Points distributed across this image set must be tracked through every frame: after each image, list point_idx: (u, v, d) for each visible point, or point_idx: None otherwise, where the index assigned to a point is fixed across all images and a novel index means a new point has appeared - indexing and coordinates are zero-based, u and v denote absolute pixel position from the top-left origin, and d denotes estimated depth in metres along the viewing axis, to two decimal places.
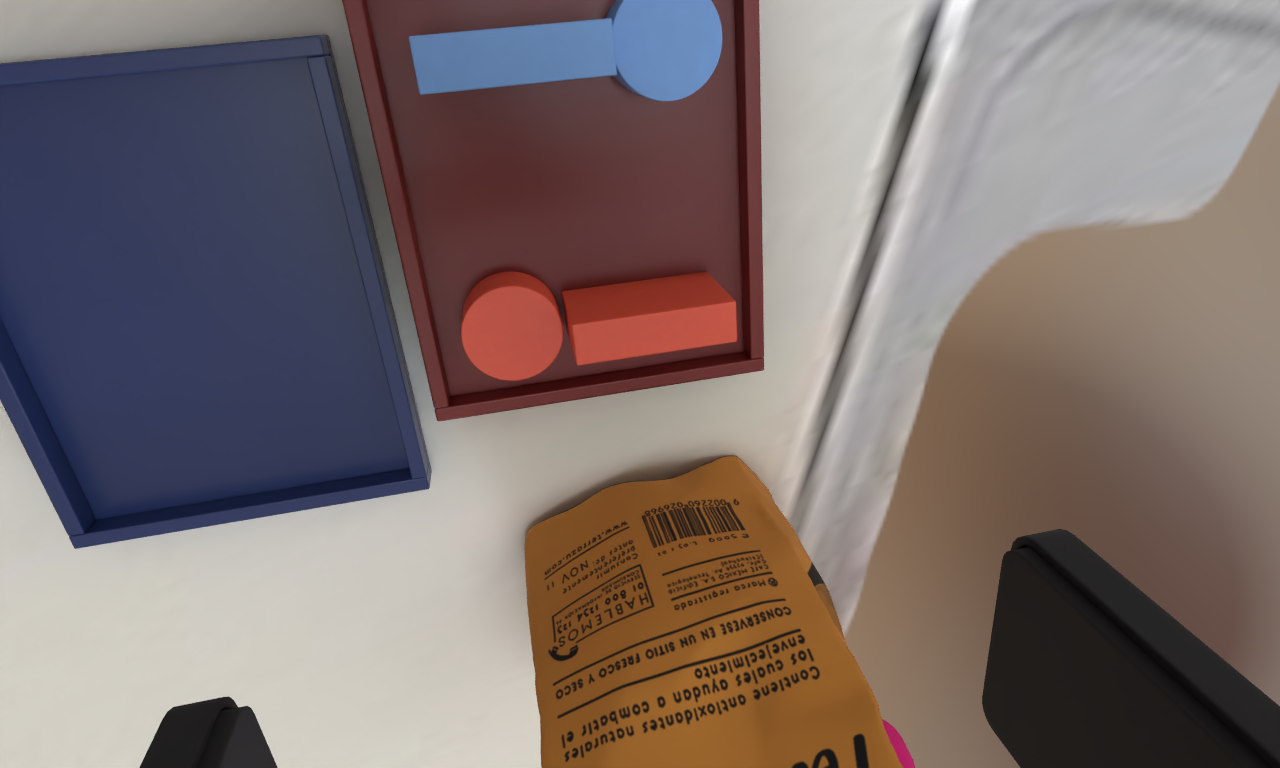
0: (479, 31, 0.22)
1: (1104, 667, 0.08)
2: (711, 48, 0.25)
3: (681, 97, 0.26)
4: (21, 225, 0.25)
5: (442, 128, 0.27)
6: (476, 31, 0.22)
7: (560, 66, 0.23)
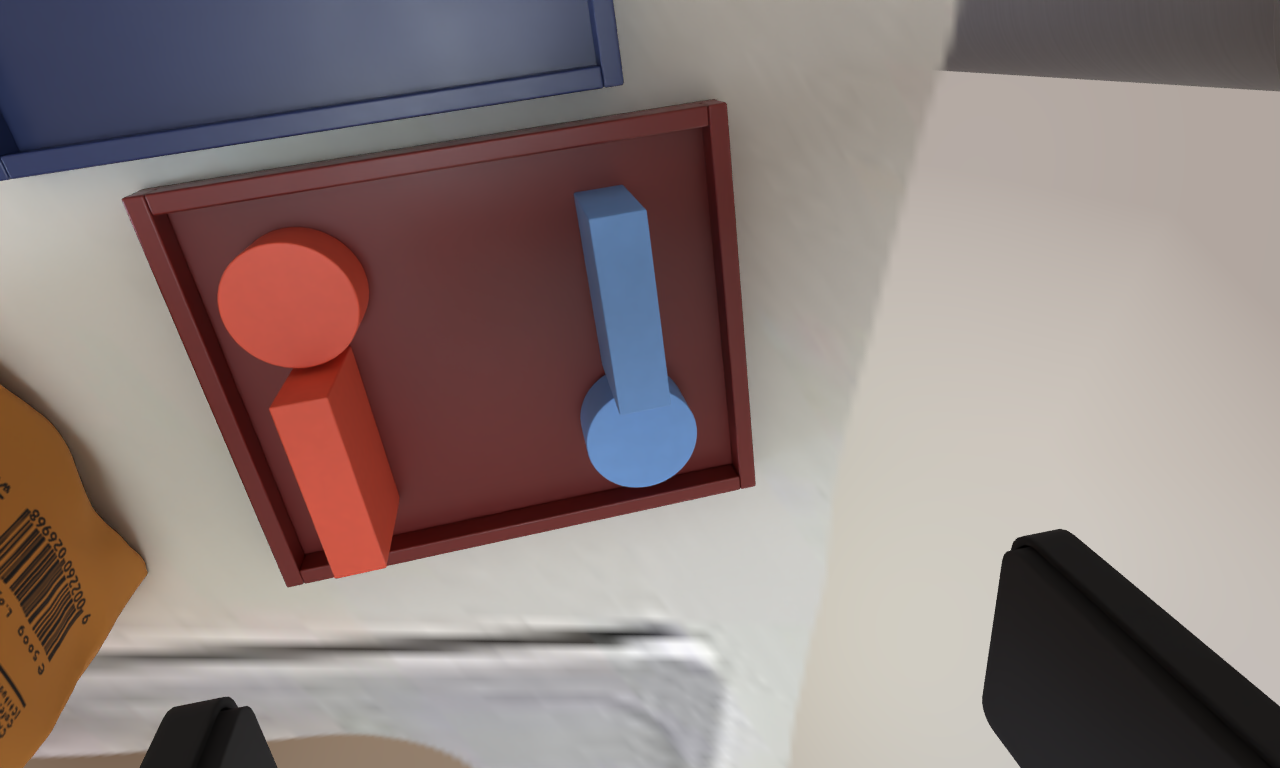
0: (654, 281, 0.21)
1: (1104, 667, 0.08)
2: (637, 479, 0.26)
3: (591, 459, 0.25)
4: None
5: (531, 206, 0.24)
6: (653, 278, 0.21)
7: (624, 362, 0.22)
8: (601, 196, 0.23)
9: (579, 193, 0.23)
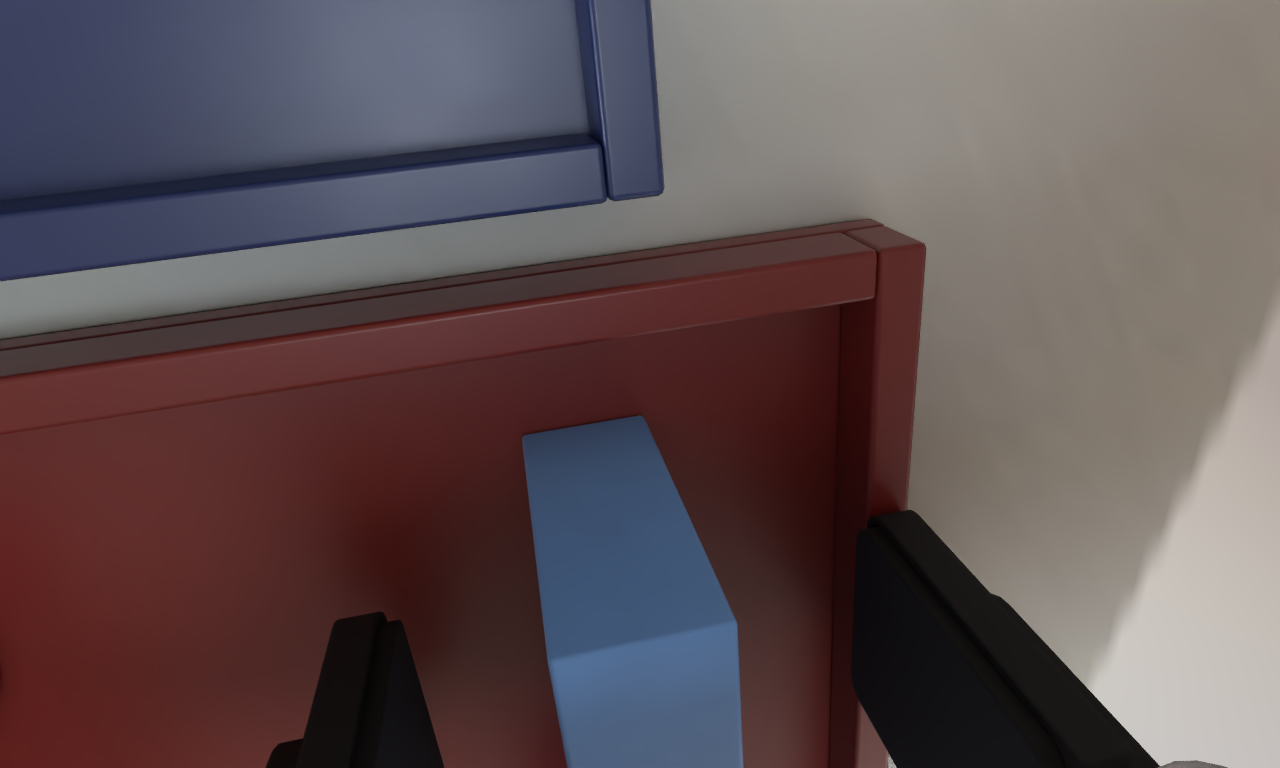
0: None
1: (924, 635, 0.08)
2: None
3: None
4: None
5: (415, 467, 0.10)
6: None
7: None
8: (590, 476, 0.09)
9: (535, 444, 0.09)
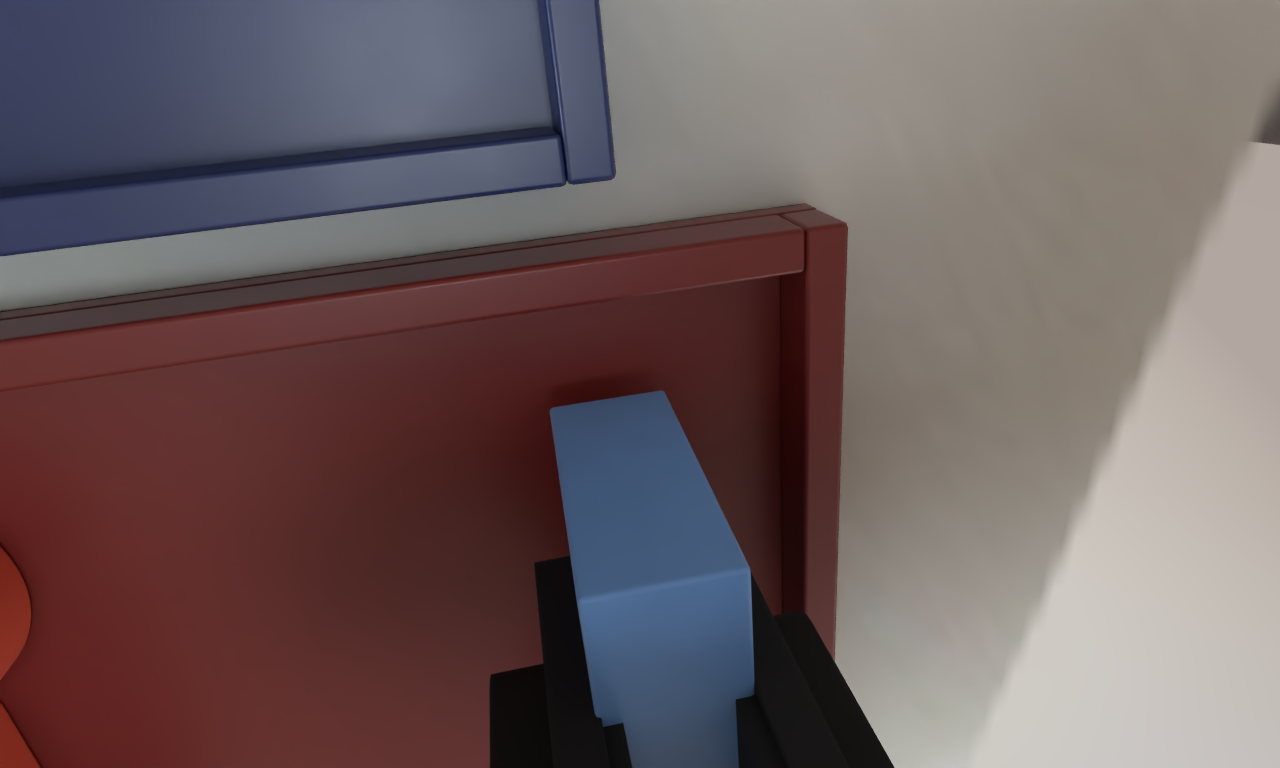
0: None
1: None
2: None
3: None
4: None
5: (402, 423, 0.11)
6: None
7: None
8: (615, 444, 0.09)
9: (562, 415, 0.10)
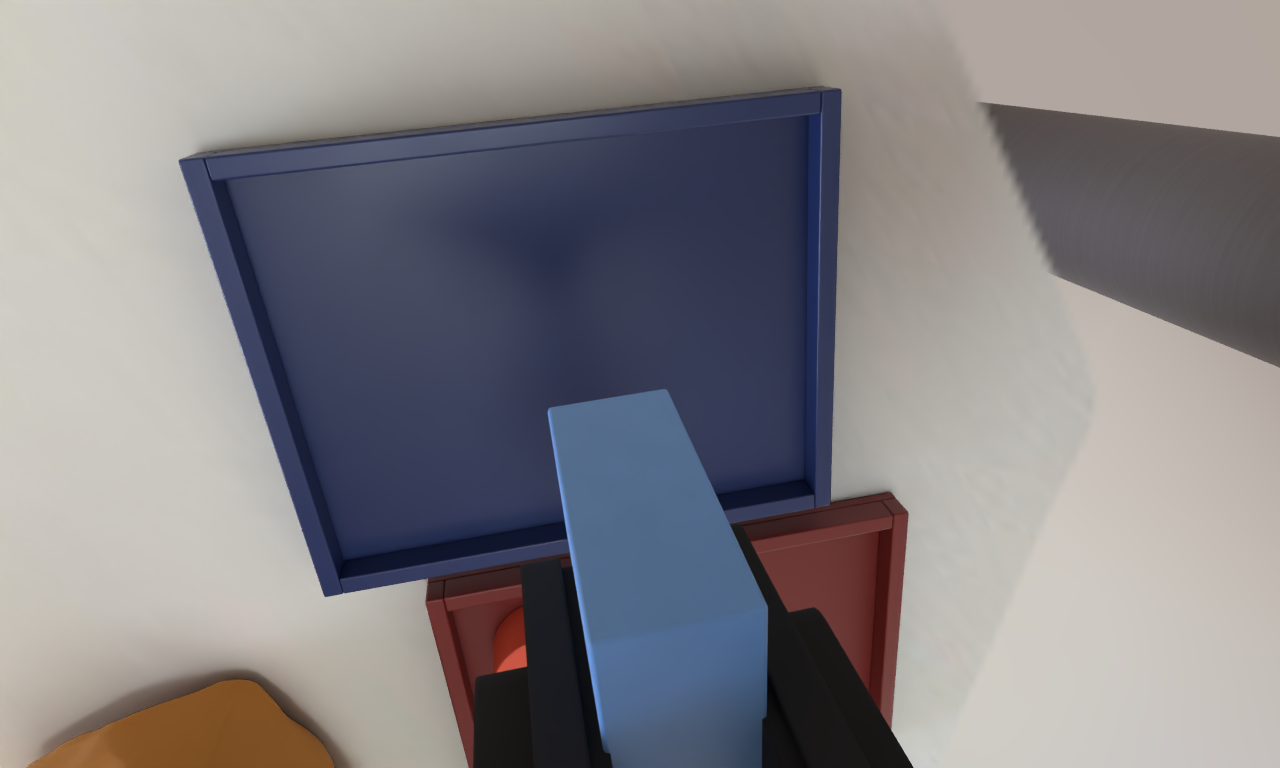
0: None
1: None
2: None
3: None
4: (665, 195, 0.22)
5: None
6: None
7: None
8: (618, 453, 0.09)
9: (561, 418, 0.09)
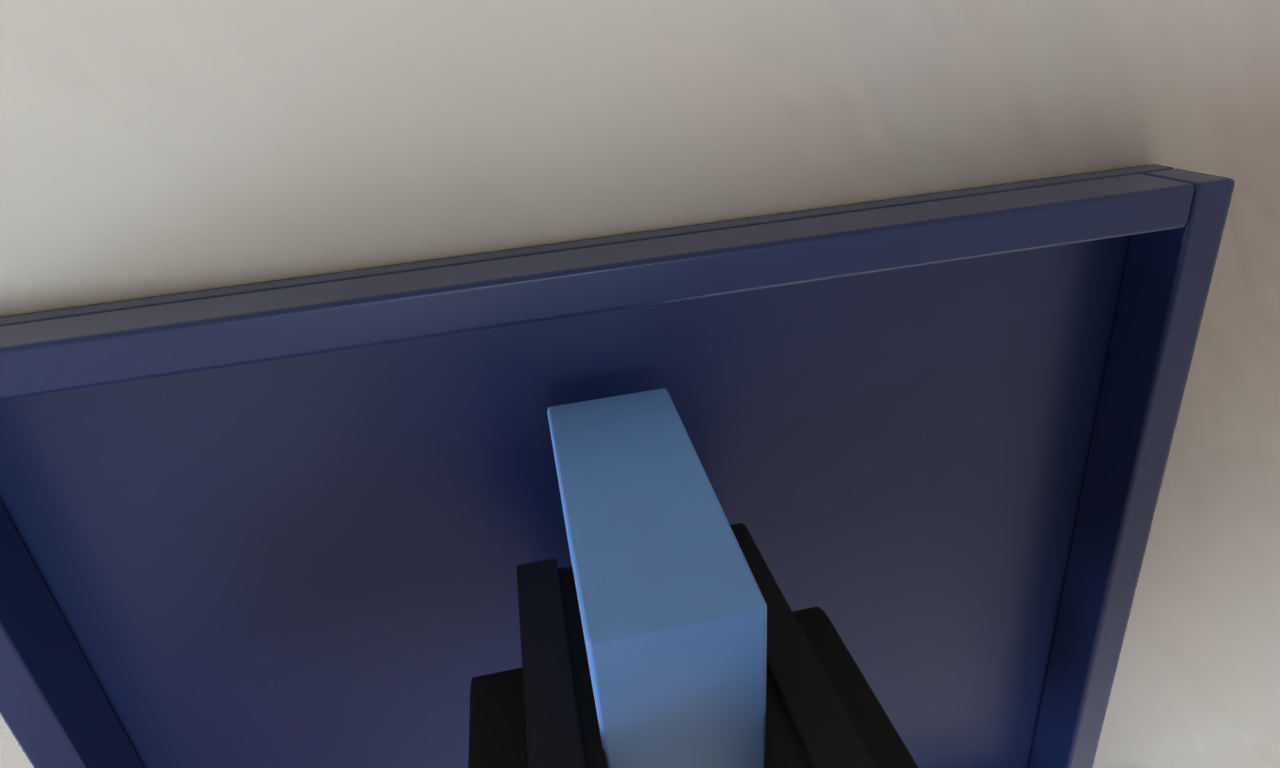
0: (761, 751, 0.08)
1: None
2: None
3: None
4: (851, 375, 0.11)
5: None
6: (761, 744, 0.07)
7: None
8: (618, 452, 0.09)
9: (561, 417, 0.09)
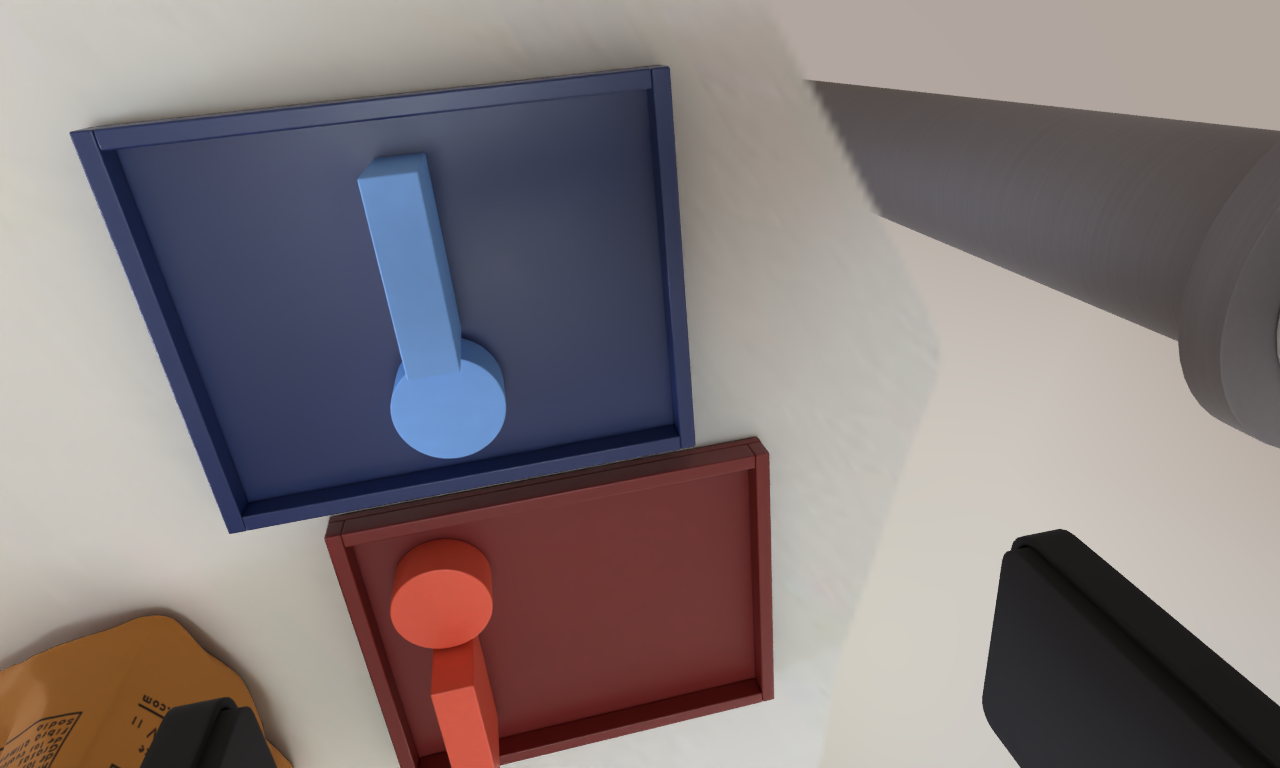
0: (432, 245, 0.21)
1: (1104, 667, 0.08)
2: (447, 449, 0.26)
3: (397, 428, 0.25)
4: (522, 163, 0.25)
5: (617, 516, 0.31)
6: (431, 241, 0.21)
7: (407, 326, 0.22)
8: (393, 161, 0.23)
9: (377, 158, 0.23)
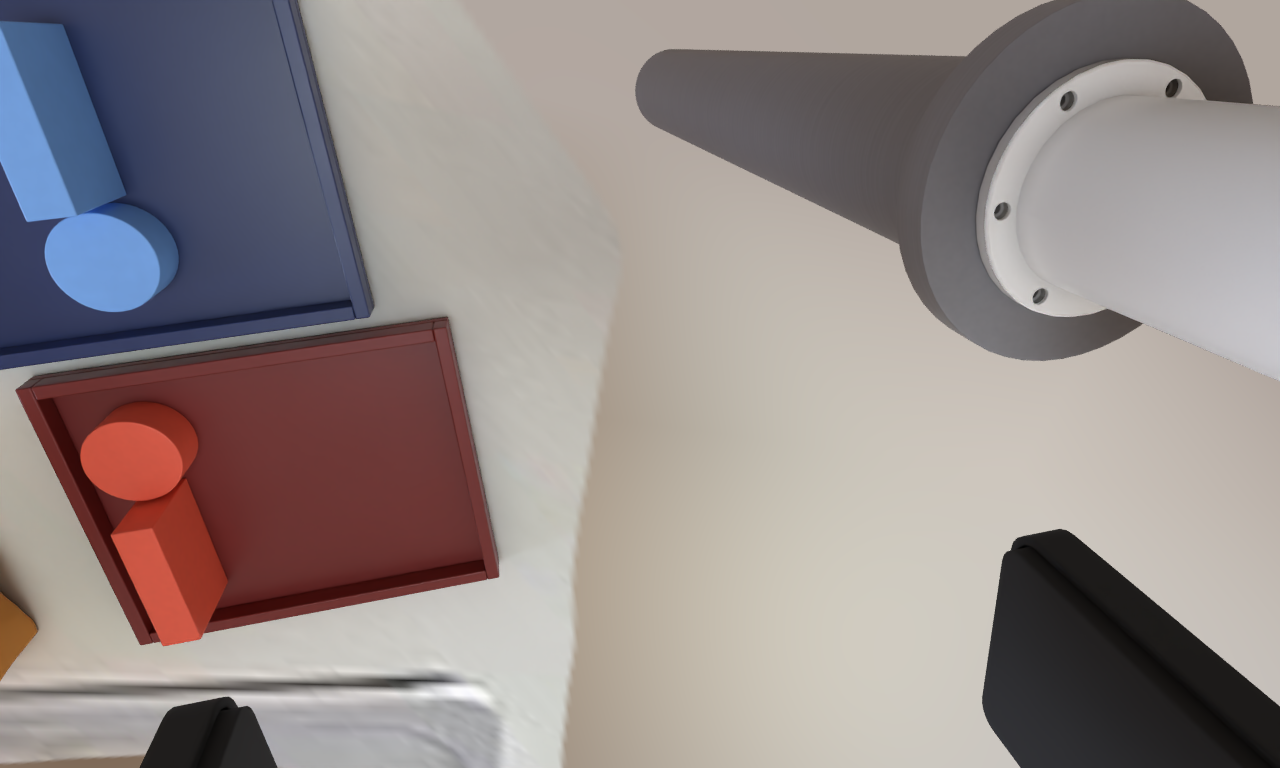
0: (25, 91, 0.24)
1: (1104, 667, 0.08)
2: (108, 303, 0.29)
3: (54, 280, 0.28)
4: (160, 38, 0.27)
5: (315, 387, 0.34)
6: (25, 88, 0.24)
7: (16, 169, 0.25)
8: None
9: None
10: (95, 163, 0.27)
